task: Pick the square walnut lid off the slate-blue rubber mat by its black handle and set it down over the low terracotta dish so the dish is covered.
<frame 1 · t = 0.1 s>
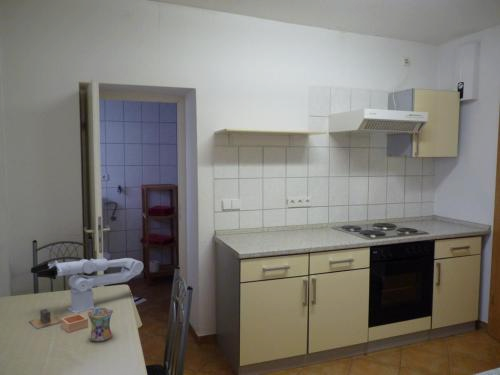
hand: (34, 272, 172), 22 cm above the table, tool horizontal, fingers open, 7 cm apart
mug: (100, 337, 160), on the table
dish: (74, 328, 167), on the table
lid: (45, 322, 171), resting on mat
mat: (45, 323, 171), on the table
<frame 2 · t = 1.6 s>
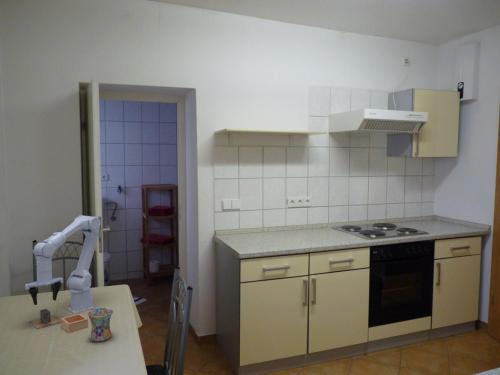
hand: (45, 302, 170), 9 cm above the table, tool pointing down, fingers open, 7 cm apart
nothing on the table moved.
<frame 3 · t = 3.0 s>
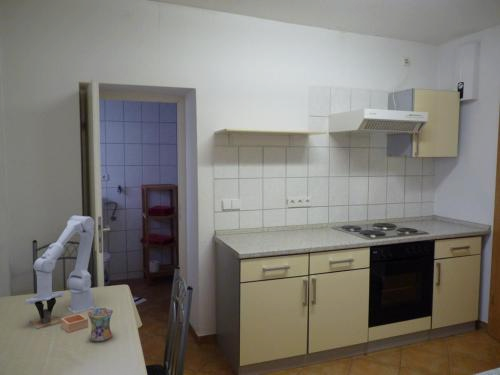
hand: (45, 317, 171), 3 cm above the table, tool pointing down, fingers closed on lid, 2 cm apart
lid: (45, 322, 171), resting on mat, touching gripper
everything else where it was.
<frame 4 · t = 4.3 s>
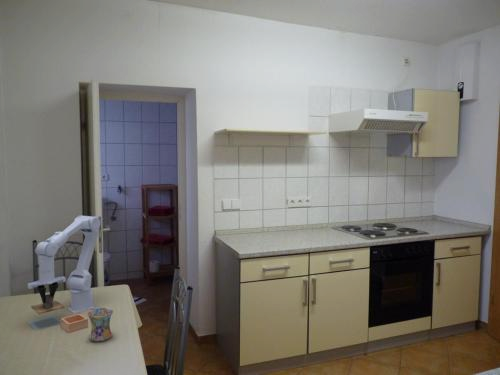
hand: (47, 301, 170), 10 cm above the table, tool pointing down, fingers closed on lid, 2 cm apart
lid: (47, 307, 170), point 7 cm above the table, touching gripper
everything else where it was.
when the fingers open (8 cm above the table, at t = 5.7 s): lid stays where it is, resting on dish.
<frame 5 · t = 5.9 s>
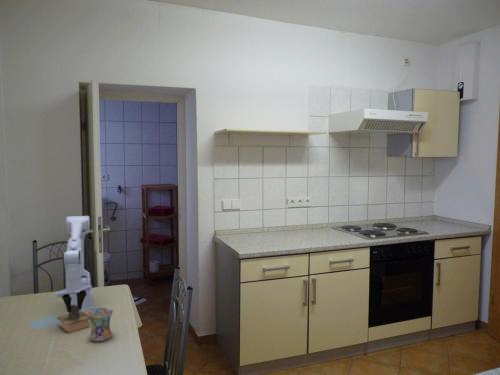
hand: (74, 310, 167), 8 cm above the table, tool pointing down, fingers open, 4 cm apart
lid: (74, 318, 167), point 4 cm above the table, touching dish
everything else where it was.
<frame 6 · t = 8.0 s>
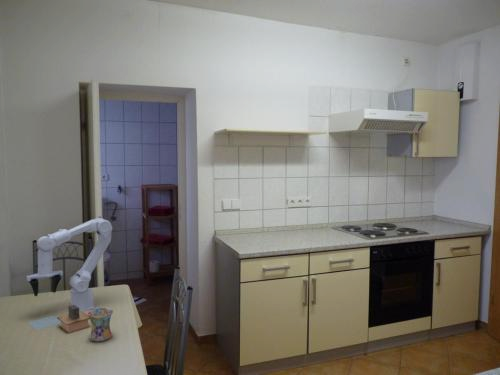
hand: (45, 293, 178), 10 cm above the table, tool pointing down, fingers open, 7 cm apart
nothing on the table moved.
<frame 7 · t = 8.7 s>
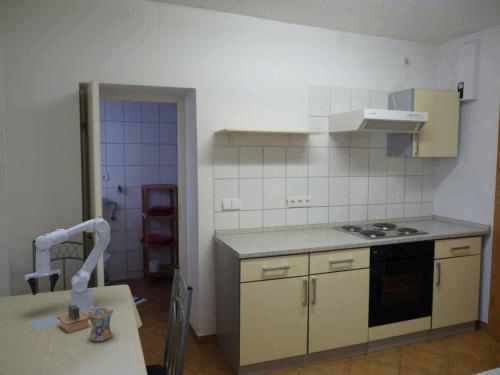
hand: (43, 292, 179), 10 cm above the table, tool pointing down, fingers open, 7 cm apart
nothing on the table moved.
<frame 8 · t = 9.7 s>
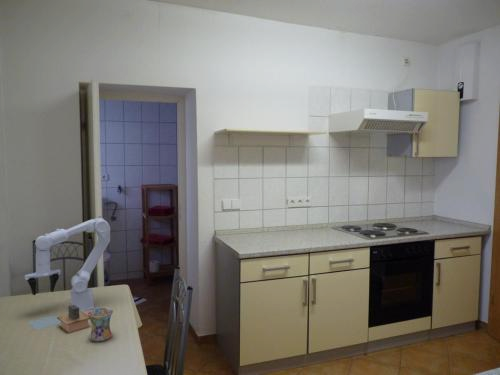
hand: (43, 292, 179), 10 cm above the table, tool pointing down, fingers open, 7 cm apart
nothing on the table moved.
at the end: lid 0.3 cm off-centre on the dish, point 4.0 cm above the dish's base; lid tilted 0°; the gripper is holding nothing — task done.
